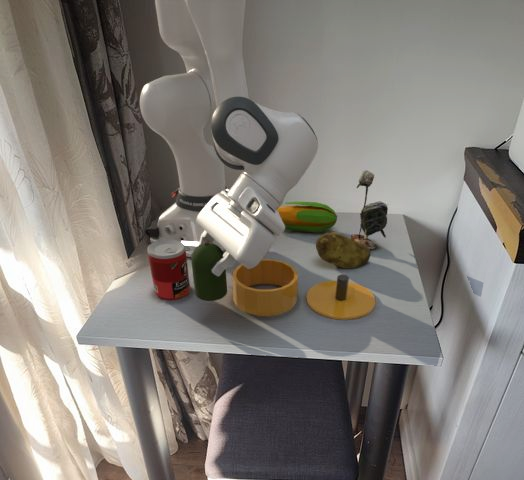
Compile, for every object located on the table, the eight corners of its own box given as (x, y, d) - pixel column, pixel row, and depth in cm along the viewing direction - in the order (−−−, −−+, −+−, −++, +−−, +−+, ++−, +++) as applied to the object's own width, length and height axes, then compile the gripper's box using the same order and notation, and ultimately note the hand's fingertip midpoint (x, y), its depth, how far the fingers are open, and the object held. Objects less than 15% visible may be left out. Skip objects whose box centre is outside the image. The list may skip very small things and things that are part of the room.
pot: (222, 308, 98) (220, 282, 94) (251, 279, 108) (250, 254, 104) (281, 324, 94) (281, 297, 90) (306, 292, 103) (307, 266, 99)
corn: (337, 209, 120) (261, 203, 123) (334, 237, 124) (261, 231, 127) (339, 200, 126) (266, 195, 129) (336, 227, 130) (266, 222, 133)
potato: (366, 277, 108) (370, 245, 103) (311, 269, 111) (314, 238, 106) (369, 260, 114) (374, 230, 109) (318, 254, 117) (320, 224, 112)
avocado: (189, 296, 89) (182, 246, 82) (205, 281, 93) (200, 232, 87) (217, 304, 87) (212, 252, 80) (233, 288, 91) (230, 238, 84)
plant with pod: (387, 254, 117) (401, 173, 104) (341, 252, 118) (351, 172, 105) (383, 240, 123) (396, 162, 111) (340, 238, 124) (348, 161, 111)
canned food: (180, 304, 99) (174, 258, 93) (148, 297, 102) (139, 252, 95) (196, 287, 105) (191, 242, 98) (165, 281, 107) (158, 236, 100)
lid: (295, 311, 97) (297, 286, 93) (319, 279, 107) (321, 255, 104) (363, 329, 92) (367, 303, 88) (382, 293, 102) (386, 269, 99)
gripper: (215, 175, 88) (173, 234, 91) (267, 212, 74) (215, 281, 77) (237, 194, 93) (197, 250, 95) (290, 232, 78) (240, 297, 81)
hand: (205, 264), depth 86 cm, fingers closed on avocado, 6 cm apart
